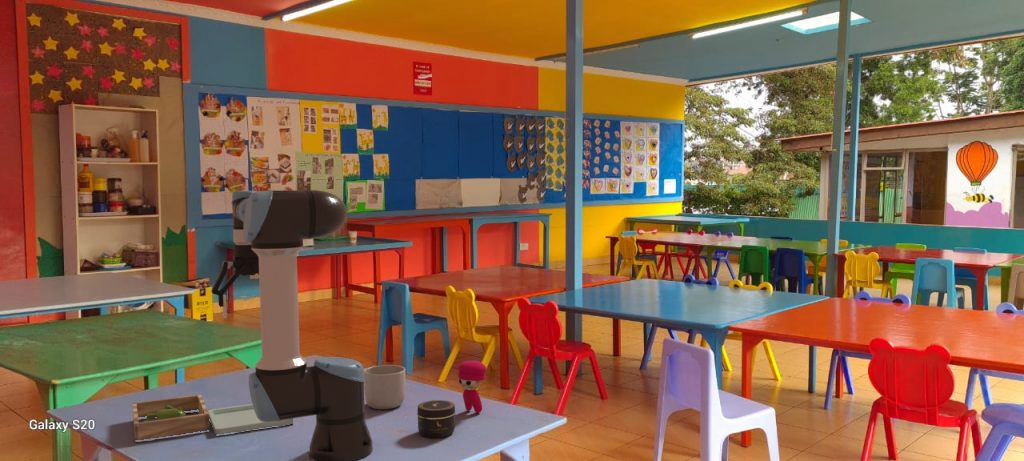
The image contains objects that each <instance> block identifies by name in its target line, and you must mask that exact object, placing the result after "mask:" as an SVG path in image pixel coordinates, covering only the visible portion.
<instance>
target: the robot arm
mask: <svg viewBox="0 0 1024 461" xmlns="http://www.w3.org/2000/svg"><path fill="white" fill-rule="evenodd" d="M231 208H232V209H231V211H232V234H233V238H232V239H233V243H234V245H233V261H228V260H227V261H226V260H224V261H222V265H221V267H222V268H221V271H220V272H219V274H218V276H217V278H216V280H215V282H214V284H213V287H212V288H211V293H212V294H213V295H216V296H218V298H217V299H218V306H219V307H220V308H221V307H222V317H223V319H227V318H228V313H227V312H228V311H227V310H228V307H227V295H226V292H227V291H228V290H229V289H230V287H231V286H232V285H233V283H234V282H235V281H236V280H237V279H238V277H240V275H241V276H243V277H246V276H255V275H256V274H257V275H258V277H259V278H258V280H259V281H258V282H259V305H260V306H259V311H260V335H261V336H260V337H261V338H260V340H261V341H260V342H261V358H260V359H259V360H258V361H257V362H256V363H255V366H254V367H255V372H251V373H249V374H248V389H249V393H250V398H251V404H253V407H254V411H255V414H256V416H257V418H258V419H259V420H260V421H262V422H270V421H280V420H286V419H292V418H293V419H298V418H304V417H311V416H316V417H315V418H316V419H315V420H316V421H315V422H316V423H315V427H314V431H313V433H312V437H311V441H310V443H309V458H311V459H312V460H314V461H357V460H360V459H363V458H365V457H368V456H369V455H370V454H372V452H373V450H374V449H373V448H374V447H373V439H372V435H371V433H370V430H369V428H368V425H367V422H366V419H365V415H366V414H365V390H364V381H365V380H364V374H363V371H364V367H363V365H362V363H361V362H359V361H358V360H355V359H352V358H346V357H342V356H341V357H339V356H337V357H336V356H324V357H323V356H322V357H318V358H316V359H315V360H314V362H313V365H312V366H308V364H307V362H308V361H307V360H306V359H305V358H304V357H303V355H301V353H300V348H301V347H300V324H299V323H300V318H299V317H300V316H299V291H298V290H299V288H298V258H297V256H298V254H299V252H301V250H302V249H303V248H304V240H311V239H313V240H314V239H320V238H325V237H327V236H331V235H333V234H334V233H336V232H338V231H339V230H340V229H342V227H343V226H344V224H345V223H346V219H347V216H348V215H347V207H346V204H345V203H344V201H343V200H342V199H341V198H340V197H339V196H338V195H336V194H333V193H331V192H328V191H324V190H318V189H317V190H316V189H309V190H295V189H294V190H288V189H287V190H272V189H270V190H260V191H257V190H235V191H233V192H232V194H231ZM231 267H233V268H234V269H235V271H233V273H232V275H231V276H229V278H228V279H227V280H226V282H225V283H224V284H223V285H222V287H221V284H222V282H223V281H224V278H225V276H226V274H227V272H228V270H229V269H231ZM220 287H221V288H220Z"/></svg>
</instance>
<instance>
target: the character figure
mask: <svg viewBox="0 0 1024 461" xmlns="http://www.w3.org/2000/svg"><path fill="white" fill-rule="evenodd" d="M183 416H187V414H185V412H184V411H183V410H181V408H180V407H179V408H178V409H177V408H176V409H175V408H173V407H171V406H170V405H166V407H165V408H163V410H162V409H160V410H158V412H157V414H147V420H144V422H148V421H150V420H151V419H150V418H155V417H157V418H155V419H156V420H162V419H169V418H176V417H183Z"/></svg>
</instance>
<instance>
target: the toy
mask: <svg viewBox="0 0 1024 461" xmlns="http://www.w3.org/2000/svg"><path fill="white" fill-rule="evenodd" d="M457 370H458V375H457V377H458V378H459V379H458V383H459V384H460V385H461V387H462V388H463V389H465V390H463V392H462V398H463V404H464V407H465V409H466V410H465V411H468V412H470V411H471V410H472V409H473V410H474V413H476V414H480V413H481V412H482V411H483V403H482V400H481V396H480V394H479V391H478V390H477V389H480V388H479V387H480V386H481V384H482V381H483V380H485V379H486V373H487V372H488V371H487V370H488V369H487V366H486V365H485V364H484V363H482V362H480V361H479V360H471V359H470V360H465V361H463V362H461V363H459V365H458V366H457Z"/></svg>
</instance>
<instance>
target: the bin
mask: <svg viewBox="0 0 1024 461" xmlns="http://www.w3.org/2000/svg"><path fill="white" fill-rule="evenodd" d="M166 405H170V406H171V407H173V408H175V409H176V408H177V409H178V408H179V407H180V408H181V410H183V411H191V410H197V409H198V410H199V413H200V414H199V413H197V414H192V415H191V414H190V415H186V416H183V417H176V418H169V419H162V420H157V419H156V420H155V419H154V420H149V421H148V422H145V421H142V422H139V421H138V417H145V416H147V414H157V412H158V410H160V409H162V410H163V408H165V407H166ZM208 410H209V409H208V407H207V404H205V401H204V398H203V396H202V394H201V393H200V394H192V395H185V396H178V397H170V398H161V399H154V400H153V399H152V400H146V401H139V402H138V401H137V402H132V421H134V422H133V433H134V434H135V436H134V441H135V440H144V439H151V438H159V437H166V436H173V435H181V434H186V433H193V432H198V431H200V432H201V431H207V430H211V428H210V427H211V424H210V421H209V412H208ZM134 434H133V435H134Z"/></svg>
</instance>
